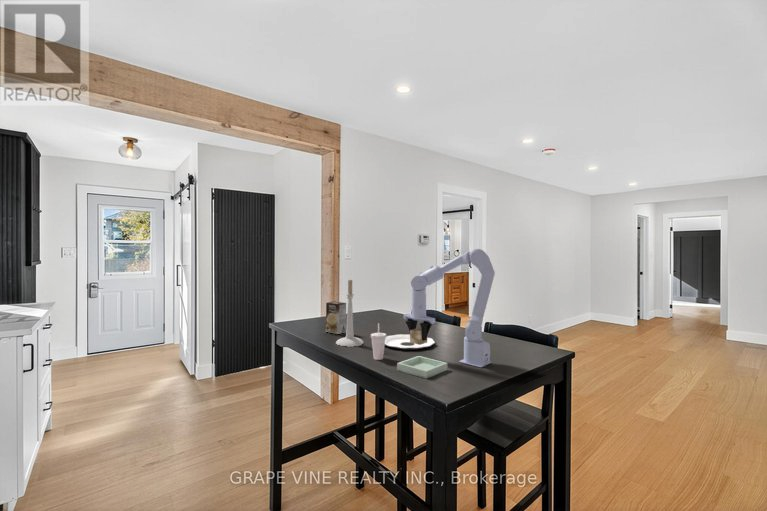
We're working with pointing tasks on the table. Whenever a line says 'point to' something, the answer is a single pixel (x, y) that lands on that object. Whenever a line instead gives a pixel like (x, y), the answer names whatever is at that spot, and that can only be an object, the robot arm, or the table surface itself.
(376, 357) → the smoothie
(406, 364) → the green tray
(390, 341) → the plate
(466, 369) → the table surface
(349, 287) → the candlestick
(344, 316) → the coffee box
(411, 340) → the maple cube
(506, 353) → the table surface
